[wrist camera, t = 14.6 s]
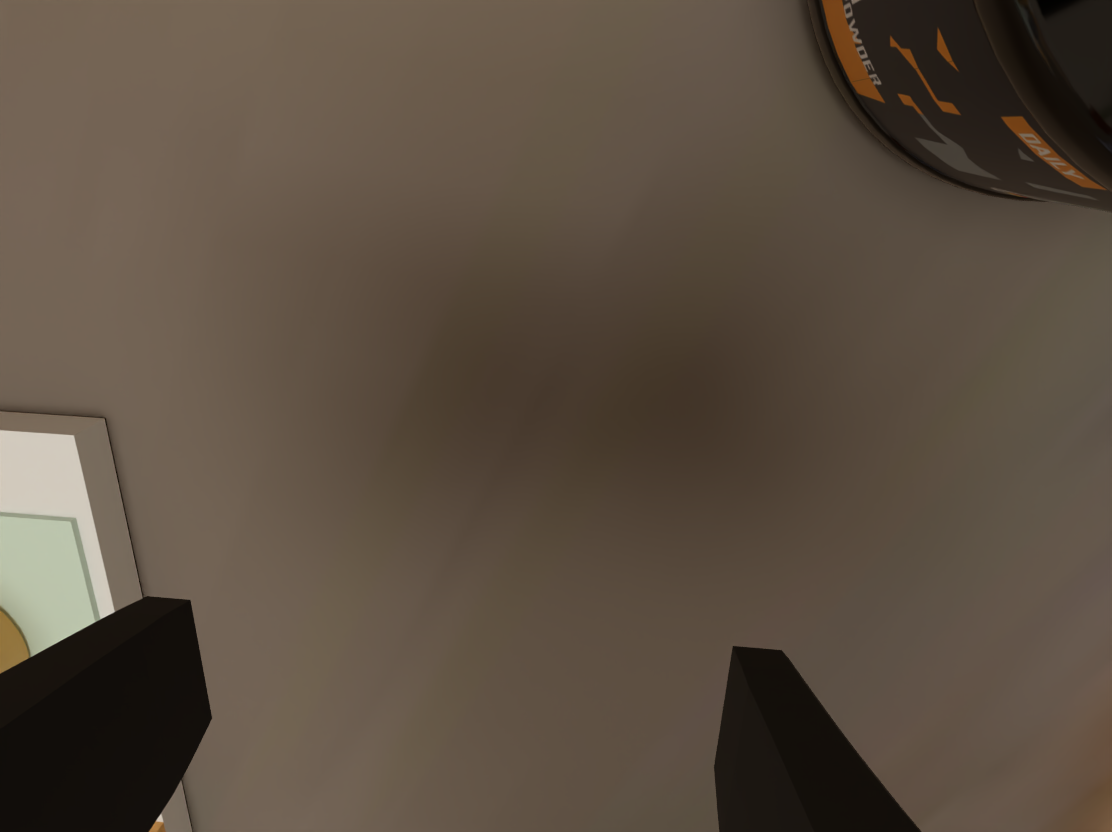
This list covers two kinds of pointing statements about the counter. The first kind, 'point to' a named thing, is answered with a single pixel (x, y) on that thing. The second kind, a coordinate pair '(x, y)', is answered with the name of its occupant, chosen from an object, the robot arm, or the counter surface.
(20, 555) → the panel
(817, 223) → the counter surface
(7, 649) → the cap
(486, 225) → the counter surface
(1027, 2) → the supplement container
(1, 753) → the robot arm
